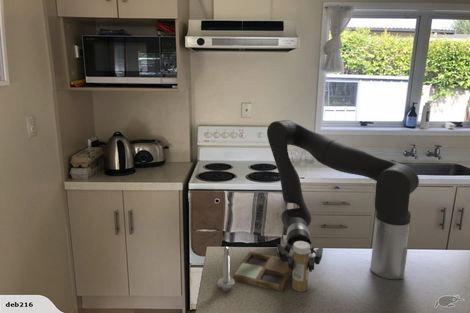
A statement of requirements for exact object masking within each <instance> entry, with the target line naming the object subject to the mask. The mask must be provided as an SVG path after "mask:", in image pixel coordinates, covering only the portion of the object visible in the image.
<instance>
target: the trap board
mask: <svg viewBox="0 0 470 313" xmlns="http://www.w3.org/2000/svg"><path fill="white" fill-rule="evenodd" d="M292 272H293V270H291V268H288V262H287V261H286V262H282V261H281V259H280V257H279V256H274V255H270V254H265V253H264V254H263V253H260V252H254V251H249V252H248V254H247V255H246V256H245V258H244V259H243V261H242V262H241V263H240V264H239V266H238V267H237V268H236V270H235V272H234V273H233V274H232V278H233V279H234V280H235V281H237V282H241V283H245V284H248V285H253V286H256V287H257V286H258V287H261V288H265V289H269V290H274V291H277V292H280V293H283V292H284V288H285V287H286V284H287V282H288V280H289V277H290V276H291V274H292Z"/></svg>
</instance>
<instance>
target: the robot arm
mask: <svg viewBox="0 0 470 313" xmlns="http://www.w3.org/2000/svg"><path fill="white" fill-rule="evenodd" d="M266 131H267V132H266V135H267V140H268V144H269V147H270V150H271V153H272V156H273V160H274V162H275V165H276V168H277V172H278V175H279V180H280V181H279V182H280V186H281V191H282V192H281V193H282V198H283V201H284V202H285V203H286V204H295V205H297V206H298V207H295V208H287V209H285V210H283V212H282V213H281V222H282V224H283V226H284V228H285V229H286V244H285V246H282V245H281V244H279V243H278V244H277V246H276V253H277V256H278V257H279V258H280V259H281V261H282V262H286V261H287V262H288V268H291V270H292V271H293V268H294V261H293V257H294V250H293V245H294V243H295V242H297V241H305V242H307V243H309V244H310V252H309V270H308V273H309V272H310V273H311V272H313V271H314V270H315V265H320V263H321V261H322V257H323V255H324V254H323V253H324V252H323V251H324V248H323V247H322V246H320V247H318V248H315V247H314V246H313V245H312V240H311V234H310V231H309V226H310V225H311V223H312V215H311V213H310V210H309V208H308V207H307V204H306V203H305V199H304V196H303V191H302V190H303V189H302V184H301V180H300V176H299V174H298V171H297V170H296V169H295V166H294V165H293V163H292V161H291V158H290V155H289V151H288V146H294V147H297V148H300V149H302V150H305V151H307V152H308V153H309V154H310V155H311V156H312V158H314V159H315V160H316V161H317V162H319V163H320V164H322V165H323V166H326V167H328V168H330V169H333V170H335V171H338V172H341V173H344V174H345V173H346V174H349V175H355V176H362V177H364V178H369V179H371V180H373V181H375V191H374V192H375V194H374V195H375V197H374V210H375V220H374V221H375V222H374V231H373V240H372V250H371V259H370V270H371V272H373V274H375V275H376V276H379V277H381V278H383V279H387V280H398V279H399V280H400V279H401V280H405V273H406V265H407V255H408V247H407V246H408V240H409V239H408V238H409V234H410V223H411V217H412V216H411V215H412V214H411V212H410V211H409V205H410V195H411V194H412V193H413V192H415V190H416V189H417V188H418V187H419V183H420V178H419V176H418V174H417V172H416V170H414V169H413V168H412V167H410V166H409V165H406V164H402V163H399V162H396V161H392V160H388V159H385V158H382V157H379V156H376V155H373V154H372V153H369V152H368V151H367V152H366V151H364V150H362V149H360V148H357V147H354V146H352V145H350V144H349V143H345V142H343V141H340V140H339V139H335V138H333V137H329V136H327V135H325V134H321V133H318V132H315V131H313V130H311V129H308V128H307V127H304V126H303V125H301V124H299V123H297V122H296V121H293V120H290V119H284V120H282V119H281V120H276V121H272V122H271V123H269V125H268V127H267V130H266ZM313 254H314V255H315V256H314V255H313Z"/></svg>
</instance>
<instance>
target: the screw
mask: <svg viewBox="0 0 470 313" xmlns="http://www.w3.org/2000/svg"><path fill="white" fill-rule="evenodd" d="M229 253H230V252H229V247H228V246H224V247H223V255H222V273H223V274H222V277H220V278H219V279H218V280H217V285H218V286H219V287H220V288H221V290H222V291H224V292H228V291H231V288H232V287H234V286H235V284H236V282H235V281H236V280H234V279H233V277H231V276H230V255H229Z"/></svg>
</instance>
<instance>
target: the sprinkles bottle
mask: <svg viewBox="0 0 470 313" xmlns="http://www.w3.org/2000/svg"><path fill="white" fill-rule="evenodd" d="M293 250H294V257H293V261H294V268H293V270H292V275H291V276H292V284H291V287H292V289H293V290H295V291H296V292H305V291H307V290H308V289H309V286H308V283H309V282H308V281H309V252H310V244H309V243H307V242H305V241H297V242H295V243H294V245H293Z"/></svg>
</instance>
